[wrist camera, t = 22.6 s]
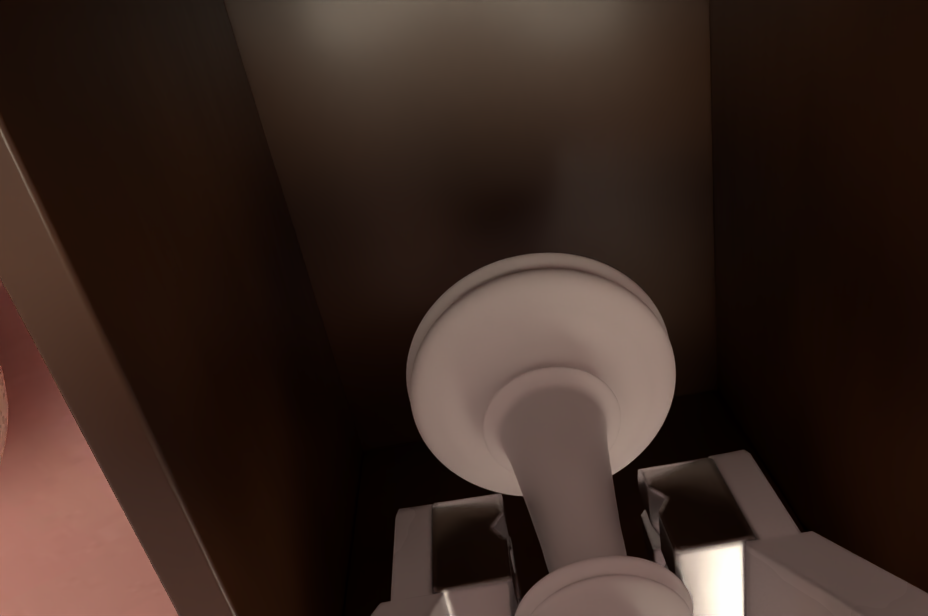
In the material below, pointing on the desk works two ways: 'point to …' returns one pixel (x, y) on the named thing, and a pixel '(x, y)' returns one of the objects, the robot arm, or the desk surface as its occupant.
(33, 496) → the desk surface
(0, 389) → the trinket box
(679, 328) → the chest
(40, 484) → the desk surface
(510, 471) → the chess piece
